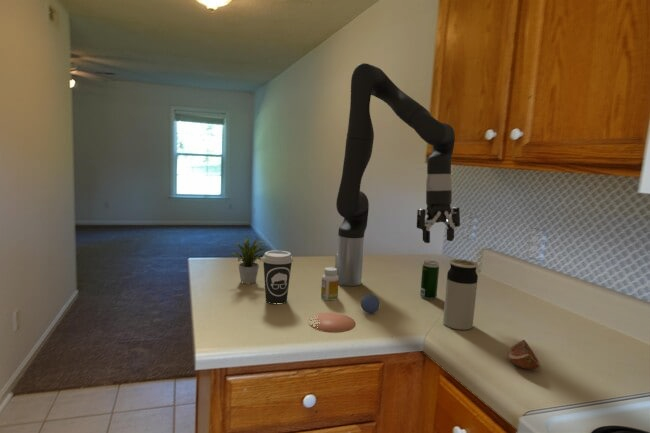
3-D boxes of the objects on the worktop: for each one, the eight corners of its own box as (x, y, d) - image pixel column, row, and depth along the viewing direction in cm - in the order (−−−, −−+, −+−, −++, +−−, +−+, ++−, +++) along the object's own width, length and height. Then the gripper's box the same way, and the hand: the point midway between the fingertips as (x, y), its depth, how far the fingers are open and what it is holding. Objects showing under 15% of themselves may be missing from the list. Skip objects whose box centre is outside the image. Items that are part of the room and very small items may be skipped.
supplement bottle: (339, 296, 137) (341, 267, 135) (334, 302, 132) (336, 272, 130) (324, 294, 138) (325, 265, 137) (318, 299, 133) (319, 269, 132)
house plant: (256, 292, 138) (257, 243, 135) (219, 285, 142) (219, 238, 139) (275, 280, 151) (276, 235, 148) (240, 275, 155) (241, 231, 153)
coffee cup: (297, 299, 133) (299, 252, 131) (281, 308, 124) (283, 259, 122) (271, 293, 137) (272, 248, 134) (254, 302, 128) (255, 254, 126)
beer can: (428, 300, 137) (431, 265, 135) (416, 295, 141) (419, 261, 140) (439, 298, 140) (443, 263, 138) (427, 293, 144) (430, 259, 142)
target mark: (299, 318, 117) (299, 317, 117) (336, 310, 125) (336, 309, 125) (326, 336, 107) (326, 335, 107) (365, 325, 114) (365, 325, 114)
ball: (356, 311, 125) (357, 293, 124) (370, 308, 128) (371, 290, 127) (368, 317, 120) (370, 299, 119) (382, 314, 123) (384, 296, 123)
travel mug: (468, 333, 113) (475, 268, 110) (439, 325, 117) (445, 262, 114) (475, 323, 119) (481, 262, 117) (447, 317, 124) (453, 257, 121)
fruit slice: (541, 379, 91) (544, 357, 90) (508, 372, 93) (510, 351, 92) (536, 361, 99) (539, 341, 98) (505, 356, 101) (507, 336, 100)
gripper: (450, 188, 134) (449, 238, 136) (412, 189, 129) (411, 241, 131) (466, 188, 127) (465, 241, 129) (426, 189, 122) (426, 245, 124)
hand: (438, 241), depth 130 cm, fingers open, 8 cm apart
